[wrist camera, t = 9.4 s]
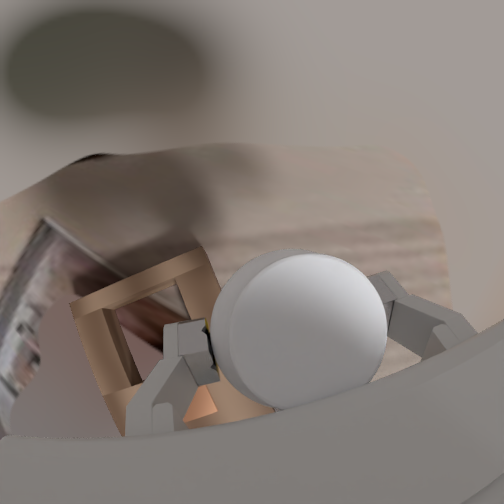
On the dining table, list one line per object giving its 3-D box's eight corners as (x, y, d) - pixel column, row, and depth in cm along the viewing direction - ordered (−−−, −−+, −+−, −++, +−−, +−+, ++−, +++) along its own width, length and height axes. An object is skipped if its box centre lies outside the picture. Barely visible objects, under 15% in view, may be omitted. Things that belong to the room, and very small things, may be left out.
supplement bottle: (199, 327, 17) (149, 333, 7) (269, 255, 18) (305, 178, 8) (273, 395, 16) (313, 476, 6) (341, 322, 17) (446, 318, 7)
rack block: (154, 466, 24) (144, 481, 21) (84, 305, 27) (67, 303, 24) (281, 425, 26) (286, 437, 22) (206, 253, 29) (201, 244, 25)
